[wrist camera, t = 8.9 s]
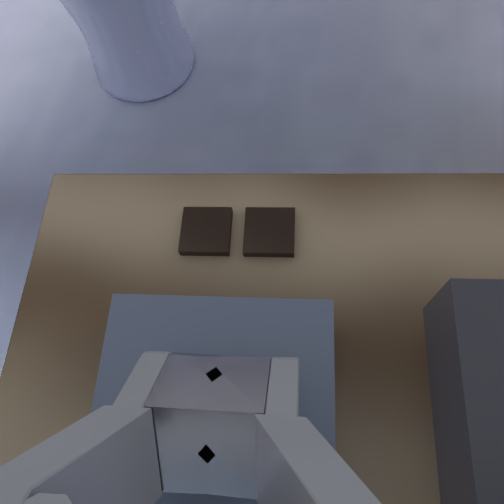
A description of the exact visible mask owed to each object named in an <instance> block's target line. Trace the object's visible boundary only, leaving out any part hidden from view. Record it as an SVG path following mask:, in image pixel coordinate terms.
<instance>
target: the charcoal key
mask: <svg viewBox="0 0 504 504" xmlns="http://www.w3.org/2000/svg"><path fill="white" fill-rule="evenodd" d="M423 318H424V329H425V340H426V350H427V361H428V372H429V383H430V394H431V405H432V415H433V426H434V437H435V448H436V459H437V470H438V480H439V491H440V502H441V504H504V279H463V278H450V279H449V280H448V281H447V282H446V283H445V285H444V286H443V287H442V288H441V289H440V290H439V291H438V292H437V293H436V295H435V296H434V297H433V298H432V299H431V300H430V301H429V302H428V303H427V305H426V306H425V307H424V308H423Z"/></svg>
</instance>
